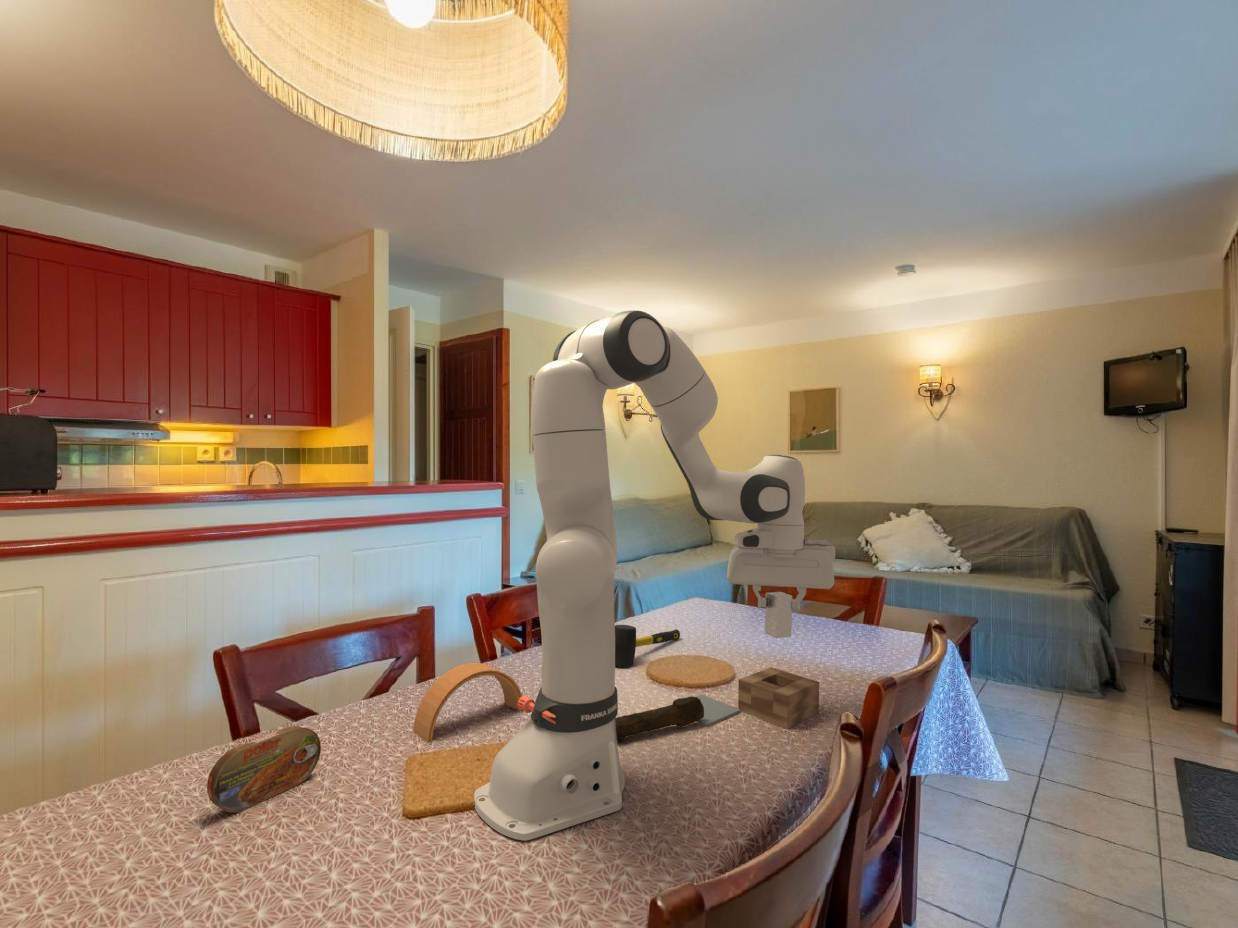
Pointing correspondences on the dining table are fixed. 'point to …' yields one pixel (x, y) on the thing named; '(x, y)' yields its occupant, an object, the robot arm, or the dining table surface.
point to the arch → (450, 684)
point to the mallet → (636, 643)
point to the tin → (263, 768)
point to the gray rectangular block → (778, 614)
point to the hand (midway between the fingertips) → (778, 608)
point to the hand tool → (660, 717)
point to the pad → (715, 711)
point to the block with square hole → (778, 697)
